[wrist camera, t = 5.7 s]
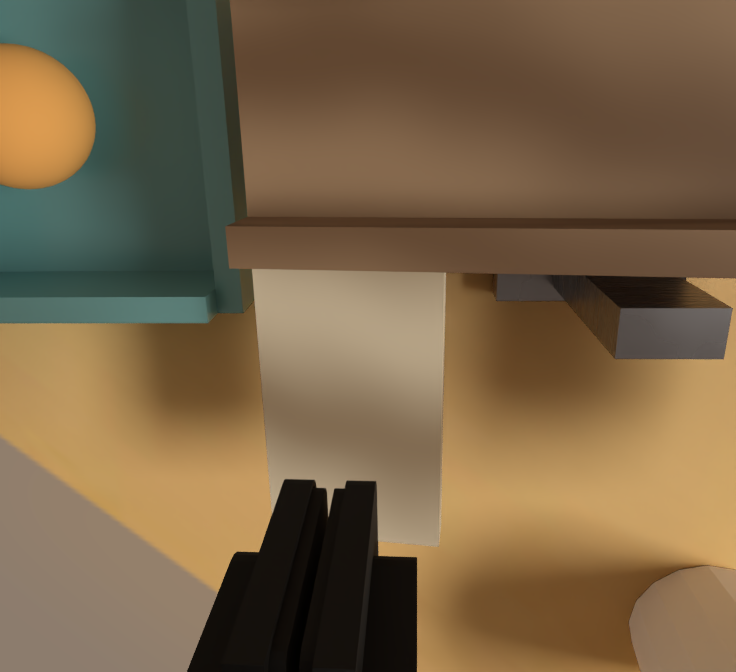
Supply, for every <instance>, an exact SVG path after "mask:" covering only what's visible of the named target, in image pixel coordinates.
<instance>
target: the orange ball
mask: <svg viewBox="0 0 736 672" xmlns="http://www.w3.org/2000/svg"><path fill="white" fill-rule="evenodd" d="M95 133H96V123H95V116H94V111H93V107H92V104H91V102H90V99H89V97H88V95H87V93H86V91H85V89H84V88H83V86H82V85H81V83H80V82H79V80H78V79H77V78H76V77H75V76H74V75H73V74H72V73H71V72H70V71H69V70H68V69H67V68H66V67H65V66H64V65H63V64H61V63H60V62H59V61H57V60H56V59H54V58H53V57H51V56H49V55H47V54H46V53H44V52H41V51H39V50H37V49H34V48H31V47H28V46H23V45H18V44H7V43H0V184H1V185H4V186H8V187H12V188H18V189H41V188H46V187H50V186H54V185H56V184H58V183H61V182H63V181H65V180H67V179H68V178H70V177H71V176H72V175H74V174H75V173H76V172H77V171H78V170H79V169H80V168H81V167H82V166H83V164H84V163H85V162H86V160H87V159H88V157H89V155H90V153H91V150H92V147H93V144H94V140H95Z"/></svg>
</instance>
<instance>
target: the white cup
mask: <svg viewBox="0 0 736 672" xmlns="http://www.w3.org/2000/svg"><path fill="white" fill-rule="evenodd" d="M629 627H630V634H631V640H632V645H633V648H634V651H635V655H636V658H637V661H638V664H639V668H640V671H641V672H736V570H733V569H727V568H720V567H714V566H708V565H707V566H701V567H694V568H688V569H682V570H678V571H676V572H674V573H672V574H670V575H668V576H666V577H664V578H662V579H660V580H658V581H656V582H654V583H653V584H652V585H651V586H650V587H649V588H648V589H647V590H646V591H645V592H644V593H643V594H642V595H641V596H640V597H639V598H638V599H637V601H636V603H635V606H634V608H633V611H632V614H631V617H630V620H629Z"/></svg>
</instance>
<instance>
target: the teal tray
mask: <svg viewBox="0 0 736 672" xmlns="http://www.w3.org/2000/svg"><path fill="white" fill-rule="evenodd" d="M0 43H7V44H18V45H23V46H28V47H31V48H34V49H37V50H39V51H41V52H44V53H46V54H47V55H49V56H51V57H53V58H54V59H56V60H57V61H59V62H60V63H61V64H63V65H64V66H65V67H66V68H67V69H68V70H69V71H70V72H71V73H72V74H73V75H74V76H75V77H76V78H77V79H78V80H79V82H80V83H81V85H82V86H83V88H84V89H85V91H86V93H87V95H88V97H89V99H90V102H91V104H92V107H93V111H94V116H95V123H96V133H95V140H94V144H93V147H92V150H91V153H90V155H89V157H88V159H87V160H86V162H85V163H84V164H83V166H82V167H81V168H80V169H79V170H78V171H77V172H76V173H75V174H74V175H72V176H71V177H70V178H68V179H67V180H65V181H63V182H61V183H58V184H56V185H54V186H50V187H46V188H41V189H18V188H12V187H8V186H4V185H1V184H0V323H209V322H210V321H211V320H212V319H213V318H214V317H215V316H216V315H217V314H218V313H244V312H245V311H246V309H247V308H248V307H249V306H250V305H251V304H252V302H253V301H254V288H253V276H252V269H231V268H229V261H228V250H227V240H226V229H225V226H227V225H229V224H232V223H234V222H237V221H239V220H241V219H244V218H246V217H248V215H247V203H246V190H245V178H244V166H243V154H242V142H241V129H240V117H239V105H238V93H237V81H236V69H235V56H234V44H233V32H232V20H231V8H230V0H0Z"/></svg>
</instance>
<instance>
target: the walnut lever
mask: <svg viewBox="0 0 736 672" xmlns="http://www.w3.org/2000/svg"><path fill="white" fill-rule="evenodd" d="M230 8H231V20H232V32H233V44H234V56H235V69H236V81H237V93H238V105H239V117H240V129H241V142H242V154H243V166H244V178H245V190H246V203H247V215H248V217H246V218H244V219H241V220H239V221H237V222H234V223H232V224H229V225H227V226H225V229H226V240H227V250H228V261H229V268H231V269H252V276H253V288H254V300H255V312H256V324H257V337H258V349H259V361H260V373H261V385H262V398H263V410H264V422H265V434H266V446H267V459H268V471H269V483H270V495H271V507H272V513H273V510H274V507H275V504H276V502H277V499H278V496H279V493H280V490H281V487H282V484H283V482H284V480H285V479H306V480H315V481H316V487H317V488H326V490H327V501H328V516H329V512H330V507H331V502H332V497H333V492H334V489H335V488H345V484H346V481H347V480H350V481H376V483H377V515H378V541H381V542H392V543H403V544H414V545H425V546H435V547H439V539H440V530H441V495H442V446H443V397H444V348H445V299H446V273H489V274H540V275H592V276H643V277H695V278H736V0H230Z"/></svg>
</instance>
